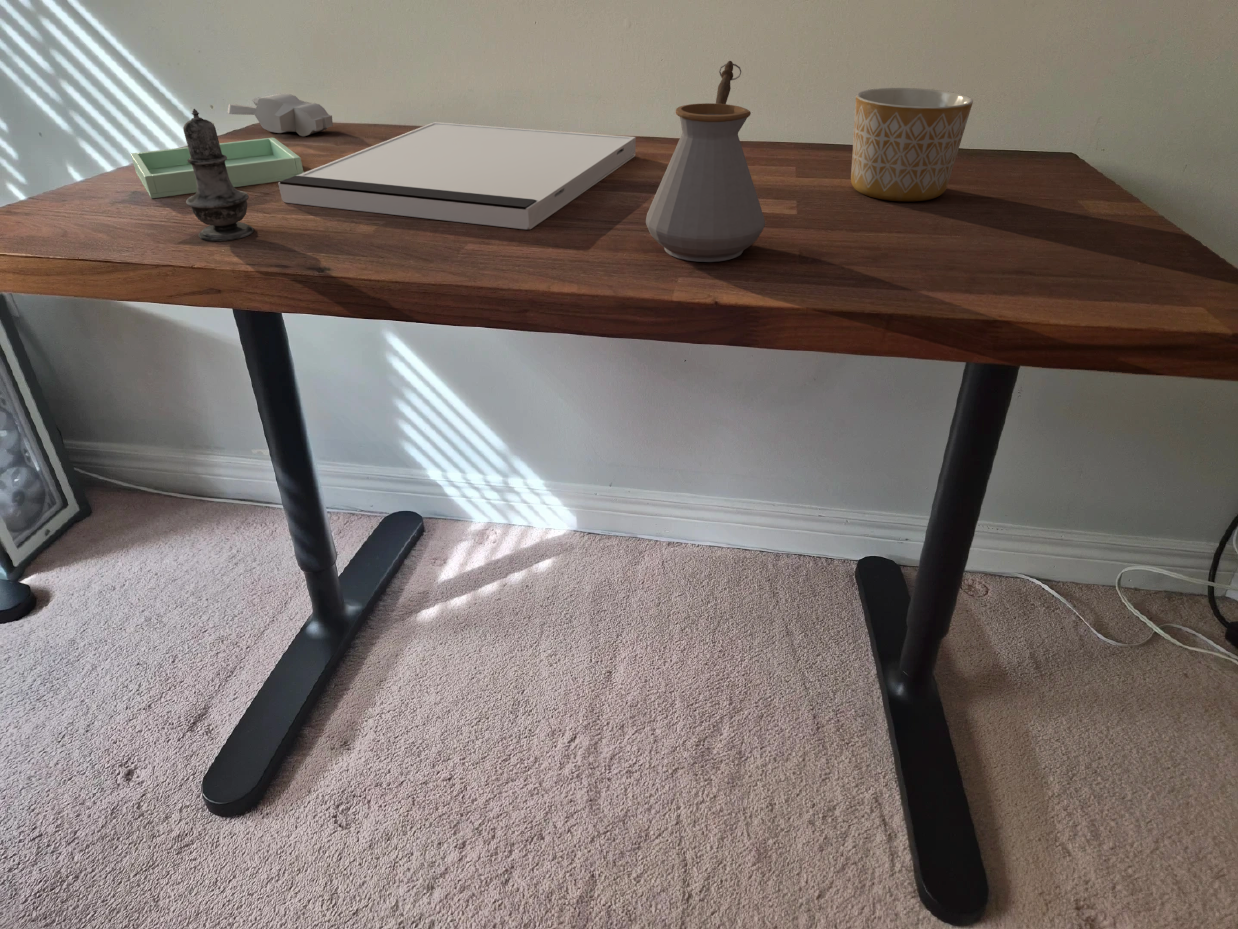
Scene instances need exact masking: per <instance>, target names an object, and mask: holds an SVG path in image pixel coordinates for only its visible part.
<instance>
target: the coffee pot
mask: <svg viewBox="0 0 1238 929" xmlns="http://www.w3.org/2000/svg"><path fill="white" fill-rule="evenodd" d="M734 67H736V68H738V70H739V73H738V74H739V75H738V76H736V77H734V72H733V71H734ZM722 68H724V70H723V71H722ZM718 72H719V75H720V77H721V80H720V82H719V84H718V85H717V92H716V98H715V103H710V102H709V103H708V102H706V103H705V102H703V103H690V104H684V105H679V106H678V107H676V108H675V114H676V116H678V117H679V121H680V126H681V132H682V133H681V134H680V138H679V140H678V142H677V144H676V147H675V149H674V151H673V153H672V156H671V158H670V160H669V163H668V165H667V167H666V169H665V172H664V174H663V176H662V178H661V181H660V183H659V185H658V188H657V190H656V193H655V195H654V197H653V199H652V201H651V204H650V206H649V208H648V211H647V213H646V218H645V225H646V227H647V230H648V232H649V234H650V235H651V237H652V238H653V239H654V241H656V243H658V245H660V246H661V247H662V248H663V250H664V251H665V253H666V254H668V255H669V256H672V257H674V258H676V259H680V260H685V261H689V262H697V263H699V262H701V263H714V262H716V263H717V262H724V261H729V260H733V259H735V258H737V257H739V256H741V255H742V253H743V252H744V250H746V249H748V248H749V247H752V245H753V244H754V243H755V242H756V241H757V240H758V238H759V237H760V236H761V234H762V232H763V230H764V228H765V226H766V221H765V216H764V212H763V209H762V207H761V203H760V200H759V197H758V194H757V190H756V186H755V184H754V182H753V178H752V175H751V172H750V169H749V165H748V162H747V159H746V155H745V152H744V149H743V146H742V143H741V141H740V137H739V132H740V131H741V129H742V127H743V125H744V124H745V123H746V121H747V120H748V118H749V117H750V116H751V115H752V114H751V113H752V112H751V111H750V110H749V109H747V108H745V107H742V106H739V105H734V104H727V101H728V98H729V95H730V92H731V89H732V88H731V81H735V80H738V79H739V78H740V77H741V75H742V69H741V66H739V65H738V64H736V63H733V61H732V60H728V61H727V62H726V63H724V64H723V65H721V66H720V68H719V71H718Z"/></svg>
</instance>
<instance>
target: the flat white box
mask: <svg viewBox="0 0 1238 929" xmlns="http://www.w3.org/2000/svg"><path fill="white" fill-rule="evenodd" d="M636 139H637V137H636V136H629V135H628V136H627V135H617V134H616V135H615V134H600V133H588V132H577V131H576V132H574V131H561V130H546V129H535V128H533V129H532V128H520V127H509V126H495V125H494V126H493V125H482V124H481V125H480V124H468V123H454V122H440V121H433V122H431V123H428V124H425V125H423V126H421V127H417V128H416V129H415V128H414V129H412V130H411V131H407V132H405V133H402V134H400V135H397V136H395V137H392V138H390V139H386V140H384V141H381V142H378V143H377V144H374V145H372V146H369V147H366V148H363V149H361V150H359V151H356V152H353V153H350V154H349V155H346V156H343V157H341V158H337V159H335V160H333V161H329V162H327V163H325V164H323V165H319V166H317V167H315V168H312V169H310V170H307V171H303V172H304V173H302V174H299V175H297V176H293V177H291V178H288V179H285V180H283V181H278V182H277V185H278V189H279V193H280V197H281V201H282V202H284V203H286V204H295V205H304V206H314V207H323V208H329V209H340V210H350V211H358V212H367V213H374V214H375V213H376V214H385V215H395V216H402V217H403V216H404V217H412V218H421V219H430V220H439V221H447V222H456V223H463V224H464V223H465V224H466V223H467V224H473V225H481V226H482V225H483V226H491V227H500V228H508V229H509V228H511V229H519V230H531V229H533V228H535V227H536V226H537V225H539V224H540V223H543V221H545V220H546V219H548V218H549V217H551V216H552V215H553V214H555V213H557V212H558V211H559V210H561V209H562V208H564V207H565V206H566V205H568V204H569V203H571V202H572V201H573V200H575V199H576V198H578V197H579V196H580V195H582V194H583V193H585V192H587V191H588V190H589V189H591V188H592V187H593V186H595V185H596V184H598V183H599V182H601V181H602V180H604V179H605V178H606V177H608V176H609V175H611V174H612V173H613V172H615V171H616V170H618V169H619V168H620V167H622V166H623V165H624V164H627V163H628V162H629V161H630V160H632V159H633V158H635V157H636V154H637V153H636V152H637V150H636V148H637V145H636V144H637V143H636Z"/></svg>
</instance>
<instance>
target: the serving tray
mask: <svg viewBox="0 0 1238 929" xmlns="http://www.w3.org/2000/svg"><path fill="white" fill-rule="evenodd" d="M219 144H220V148H221V152H222V154H223V155H225V156H227V159H226V160H225V165H226V169H227V173H228V177H229V179H230V181H231V183H232V185H233V187H234V188H239V187H247V186H254V185H262V184H271V183H278V182H280V181H283V180H285V179H288V178H291V177H293V176H297V175H299V174H302V173H304V172H305V171H304V168H303V163H302V158H301V157H300V156H299V155H298V154H296V153H295V152H294V151H292V150H291V149H290V148H289V147H287V146H286V145H285V144H283V143H282V142H280V141H279V140H278V139H277V138H275V137H265V138H256V139H248V140H247V139H246V140H237V141H230V142H219ZM130 156H131V161H132V164H133V166H134V170H135V173H136V175H137V177H138V178H139V180H140V183H141V184H142V185H143V187H144V189H145V190H146V192H147V194H148V195H149V197H150V199H159V198H167V197H174V196H182V195H188V194H196V192H197V183H196V178H195V174H194V171H193V167H192V165H191V164H190V163H188V161H187V160H188V159H189V158H190V157H191V156H190V153H189V149H188V146H183V147H176V148H167V149H158V150H149V151H140V152H132V153H131V152H130Z"/></svg>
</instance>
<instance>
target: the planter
mask: <svg viewBox="0 0 1238 929" xmlns="http://www.w3.org/2000/svg"><path fill="white" fill-rule="evenodd" d="M973 104H974V100H973V98H971V97H970V96H968V95H966V94H962V93H957V92H954V91H947V90H940V89H931V88H921V87H918V88H917V87H881V88H869V89H866V90H861V91H859V92H857V93H856V94H855V108H854V121H853V124H854V125H853V138H852V158H851V170H850V171H851V173H850V182H851V185H852V187H853V189H854V190H856V191H857V193H859V194H862V195H863V196H866V197H870V198H872V199H873V198H874V199H877V200H883V201H891V202H905V203H910V202H911V203H914V202H925V201H930V200H933V199H936V198H938V197H940V196H942V195H943V194H944V192H945V191H946V190H947V188H948V186H949V185H948V184H949V182H950V178H951V175H952V173H953V168H954V166H955V162H956V159H957V156H958V153H959V149H960V146H961V144H962V139H963V137H964V134H965V130H966V126H967V123H968V120H969V117H970V113H971V109H972V107H973Z"/></svg>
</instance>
